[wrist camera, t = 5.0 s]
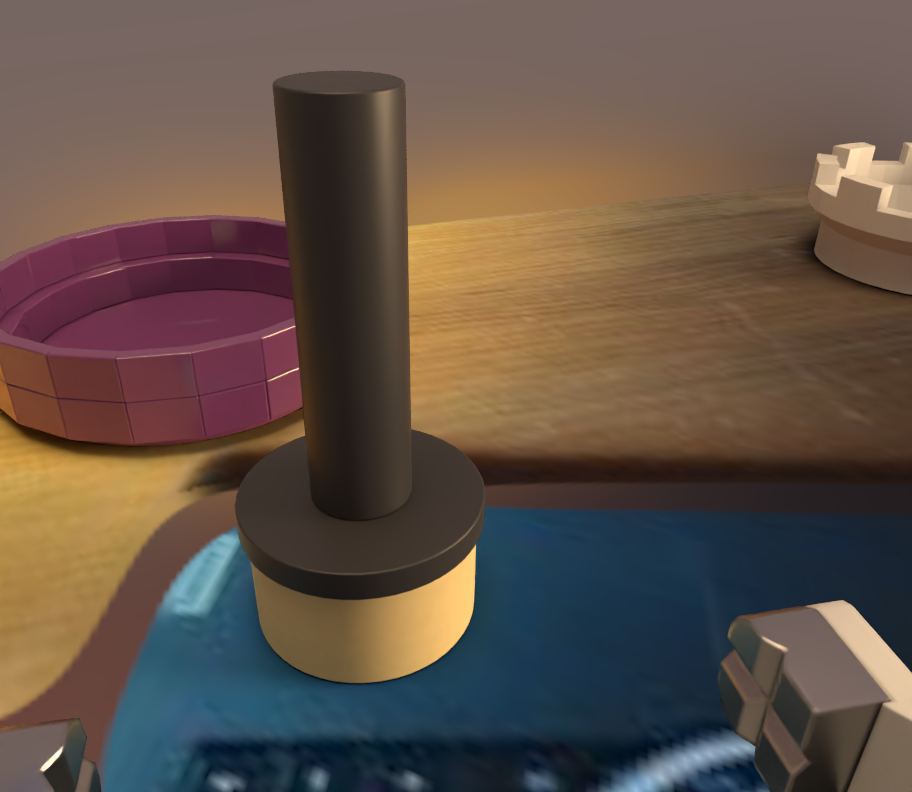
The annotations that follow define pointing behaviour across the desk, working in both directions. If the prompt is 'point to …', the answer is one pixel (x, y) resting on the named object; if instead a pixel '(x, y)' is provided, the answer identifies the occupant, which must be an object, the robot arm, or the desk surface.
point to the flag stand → (865, 215)
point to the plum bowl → (151, 331)
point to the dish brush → (355, 412)
